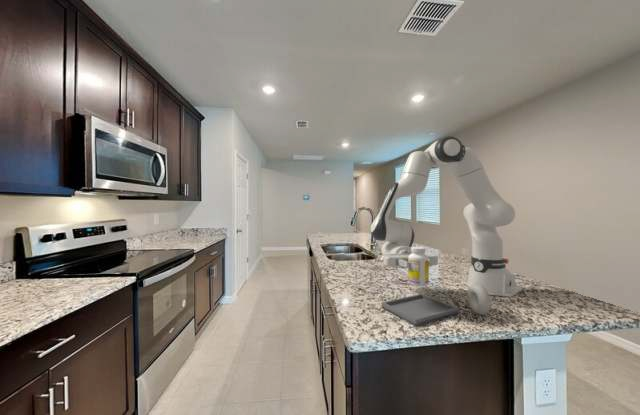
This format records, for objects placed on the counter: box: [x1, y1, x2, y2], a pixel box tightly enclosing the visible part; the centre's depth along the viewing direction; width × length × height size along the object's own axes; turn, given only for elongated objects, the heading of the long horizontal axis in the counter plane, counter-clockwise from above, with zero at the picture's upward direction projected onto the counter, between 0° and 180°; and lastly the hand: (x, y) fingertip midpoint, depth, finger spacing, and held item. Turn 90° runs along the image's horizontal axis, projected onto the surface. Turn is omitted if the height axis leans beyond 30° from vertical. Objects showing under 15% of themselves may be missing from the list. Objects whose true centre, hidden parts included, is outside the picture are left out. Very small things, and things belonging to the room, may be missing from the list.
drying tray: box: [381, 293, 460, 327], centre depth 89 cm, size 20×16×2 cm
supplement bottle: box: [407, 246, 430, 287], centre depth 89 cm, size 7×7×13 cm
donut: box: [466, 284, 492, 316], centre depth 86 cm, size 10×4×10 cm, turn 179°
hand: (419, 264), depth 88 cm, fingers closed on supplement bottle, 7 cm apart
